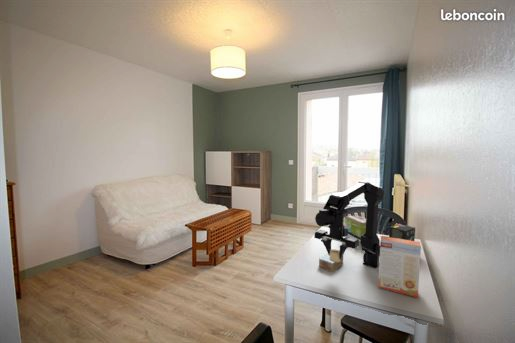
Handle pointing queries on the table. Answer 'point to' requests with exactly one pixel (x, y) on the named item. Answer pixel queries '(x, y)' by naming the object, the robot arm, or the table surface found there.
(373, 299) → the table surface
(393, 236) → the tampon box
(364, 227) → the tea box
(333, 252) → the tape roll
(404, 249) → the cracker box
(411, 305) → the table surface
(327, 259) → the lid
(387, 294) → the table surface
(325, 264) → the walnut box
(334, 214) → the robot arm
